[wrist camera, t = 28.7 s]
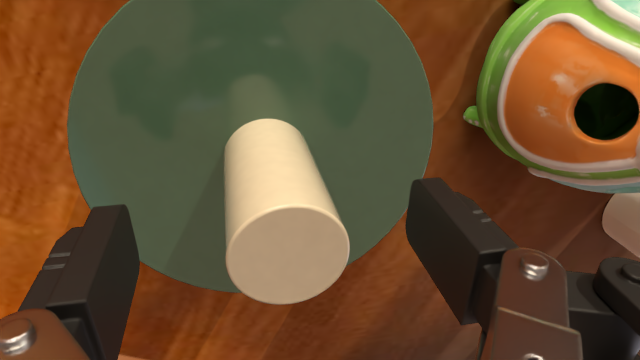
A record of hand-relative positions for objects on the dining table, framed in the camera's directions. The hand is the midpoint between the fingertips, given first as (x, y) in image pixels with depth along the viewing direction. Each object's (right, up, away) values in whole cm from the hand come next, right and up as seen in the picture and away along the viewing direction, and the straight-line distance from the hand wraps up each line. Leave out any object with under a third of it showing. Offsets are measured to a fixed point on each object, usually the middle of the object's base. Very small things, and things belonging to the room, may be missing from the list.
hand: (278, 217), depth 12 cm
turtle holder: (+18, +9, +18) cm, 27 cm away
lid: (-1, +2, +4) cm, 5 cm away
